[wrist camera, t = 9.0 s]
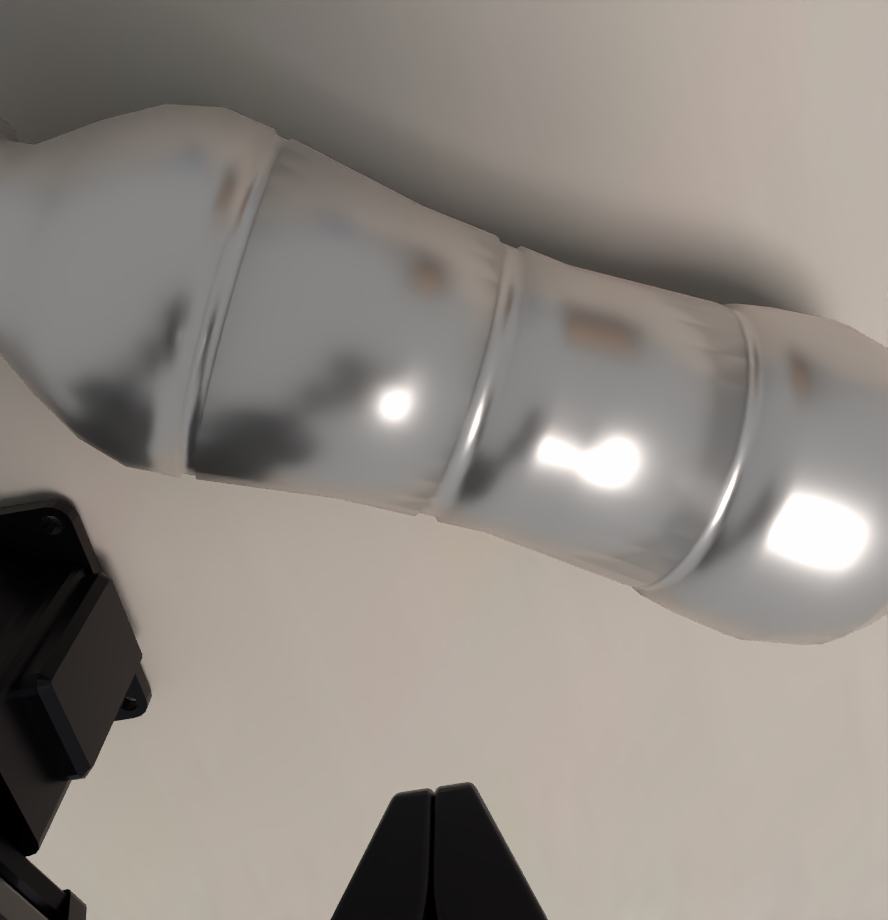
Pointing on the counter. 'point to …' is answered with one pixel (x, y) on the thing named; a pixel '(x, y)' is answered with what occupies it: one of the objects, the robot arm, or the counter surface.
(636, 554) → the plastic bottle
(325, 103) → the counter surface
